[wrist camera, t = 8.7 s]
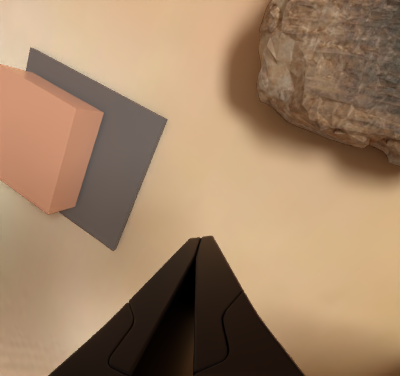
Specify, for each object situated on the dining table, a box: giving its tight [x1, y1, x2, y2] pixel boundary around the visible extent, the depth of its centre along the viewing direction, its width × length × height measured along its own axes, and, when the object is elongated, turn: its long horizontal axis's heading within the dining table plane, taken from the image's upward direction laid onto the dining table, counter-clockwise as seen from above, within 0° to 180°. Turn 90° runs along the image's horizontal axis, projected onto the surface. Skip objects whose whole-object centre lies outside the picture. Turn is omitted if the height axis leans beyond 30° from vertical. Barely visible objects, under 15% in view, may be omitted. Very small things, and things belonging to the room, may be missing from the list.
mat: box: [26, 47, 167, 251], centre depth 24 cm, size 16×14×1 cm
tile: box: [0, 64, 104, 214], centre depth 23 cm, size 3×10×9 cm
